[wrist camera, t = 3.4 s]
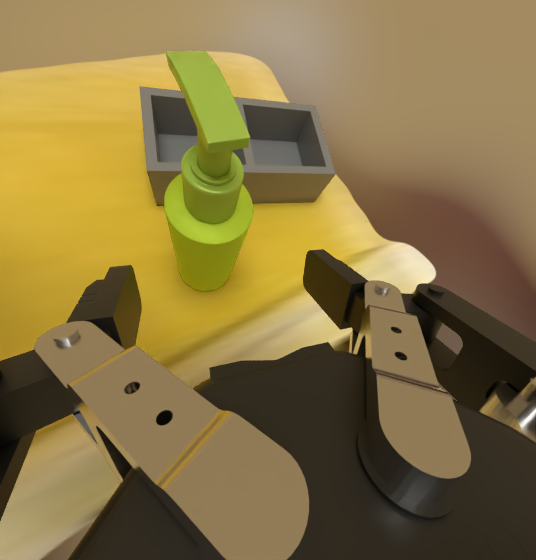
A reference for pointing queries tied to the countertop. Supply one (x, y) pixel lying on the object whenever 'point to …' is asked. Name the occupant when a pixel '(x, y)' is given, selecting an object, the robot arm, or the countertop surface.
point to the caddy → (255, 159)
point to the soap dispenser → (208, 177)
